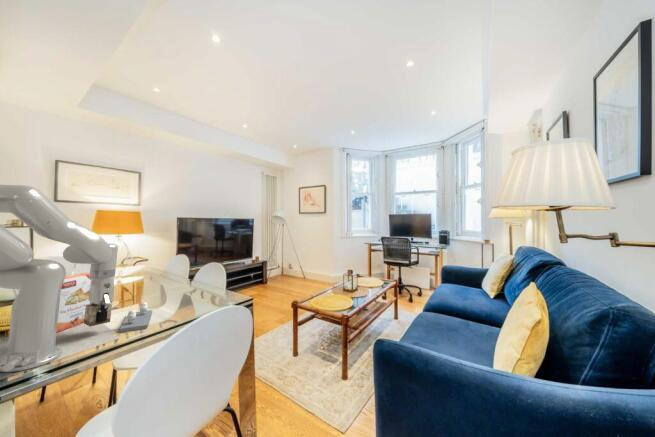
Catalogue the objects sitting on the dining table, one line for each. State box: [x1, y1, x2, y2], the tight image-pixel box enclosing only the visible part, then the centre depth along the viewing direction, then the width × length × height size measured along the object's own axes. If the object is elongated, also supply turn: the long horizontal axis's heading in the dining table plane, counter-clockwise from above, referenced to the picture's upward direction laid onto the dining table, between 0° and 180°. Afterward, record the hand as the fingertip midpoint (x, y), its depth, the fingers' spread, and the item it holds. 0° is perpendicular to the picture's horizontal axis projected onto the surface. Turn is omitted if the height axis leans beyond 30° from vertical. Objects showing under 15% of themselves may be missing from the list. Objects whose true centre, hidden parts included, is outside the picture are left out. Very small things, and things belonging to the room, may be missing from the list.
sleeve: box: [83, 302, 113, 327], centre depth 95 cm, size 6×6×7 cm
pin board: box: [119, 301, 153, 334], centre depth 107 cm, size 20×9×7 cm, turn 32°
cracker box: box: [56, 272, 91, 334], centre depth 101 cm, size 14×6×21 cm, turn 179°
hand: (97, 319), depth 95 cm, fingers closed on sleeve, 6 cm apart
